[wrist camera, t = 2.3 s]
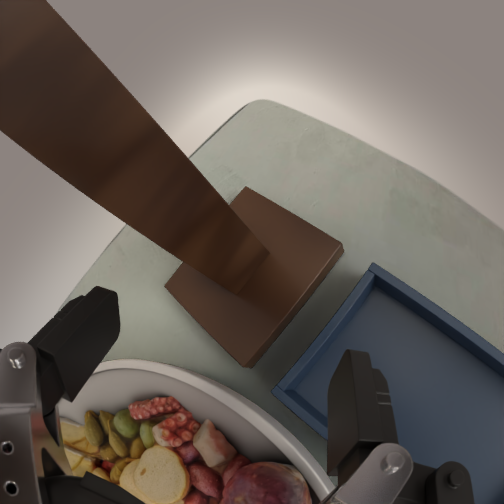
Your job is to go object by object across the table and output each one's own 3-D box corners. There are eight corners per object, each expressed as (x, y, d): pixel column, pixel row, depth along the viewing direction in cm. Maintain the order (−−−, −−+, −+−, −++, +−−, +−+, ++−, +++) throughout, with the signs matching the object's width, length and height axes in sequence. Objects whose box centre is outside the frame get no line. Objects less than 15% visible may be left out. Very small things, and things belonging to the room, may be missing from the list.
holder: (373, 276, 21) (372, 261, 18) (568, 421, 10) (587, 423, 7) (283, 390, 20) (269, 391, 18) (484, 534, 9) (494, 549, 7)
